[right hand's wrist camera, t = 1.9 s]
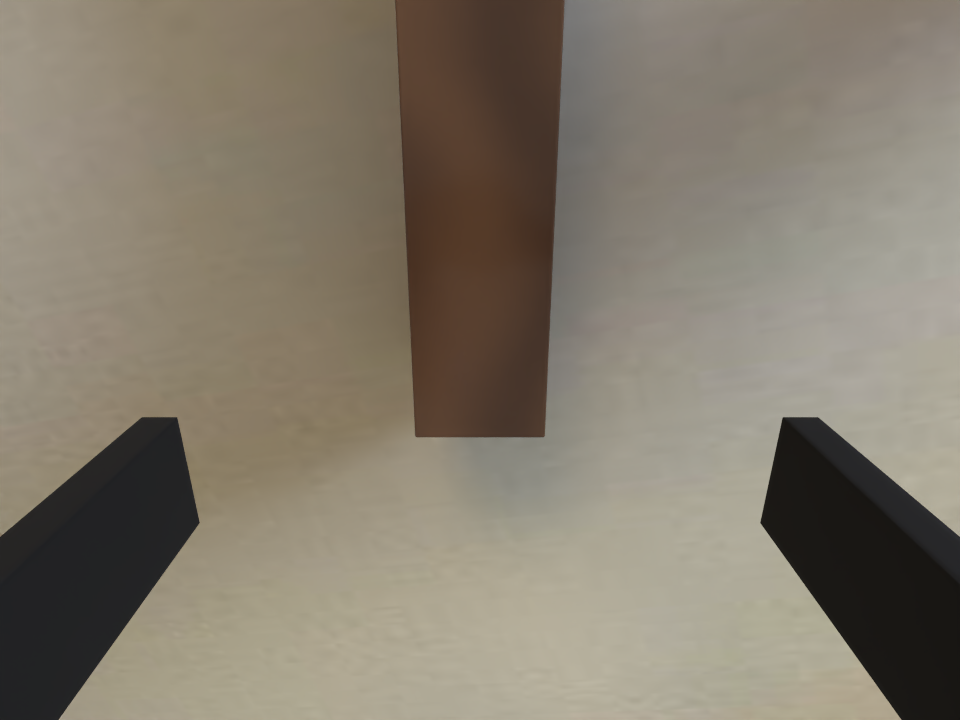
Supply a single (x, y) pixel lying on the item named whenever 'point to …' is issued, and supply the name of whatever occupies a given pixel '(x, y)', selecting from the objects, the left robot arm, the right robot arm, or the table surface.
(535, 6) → the walnut beam
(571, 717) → the table surface
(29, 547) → the right robot arm
